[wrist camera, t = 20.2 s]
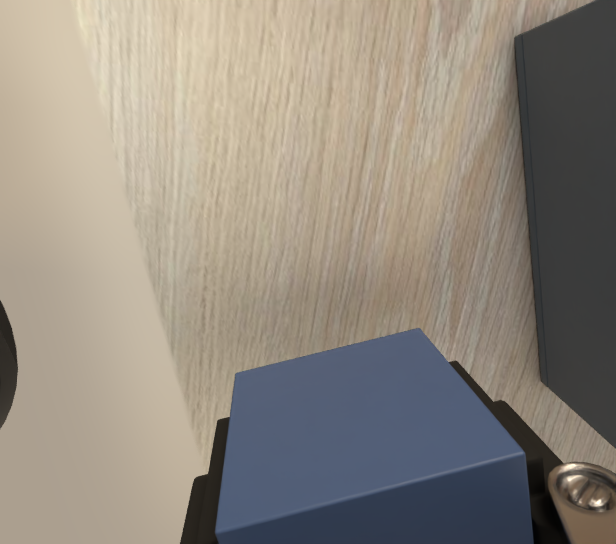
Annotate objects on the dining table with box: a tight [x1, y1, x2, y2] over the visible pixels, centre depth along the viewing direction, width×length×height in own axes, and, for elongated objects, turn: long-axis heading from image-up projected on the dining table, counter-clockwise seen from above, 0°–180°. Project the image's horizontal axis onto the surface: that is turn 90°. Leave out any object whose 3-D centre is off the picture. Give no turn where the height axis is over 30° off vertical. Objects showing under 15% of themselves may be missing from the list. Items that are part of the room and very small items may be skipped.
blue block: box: [215, 328, 534, 544], centre depth 10 cm, size 5×5×5 cm
